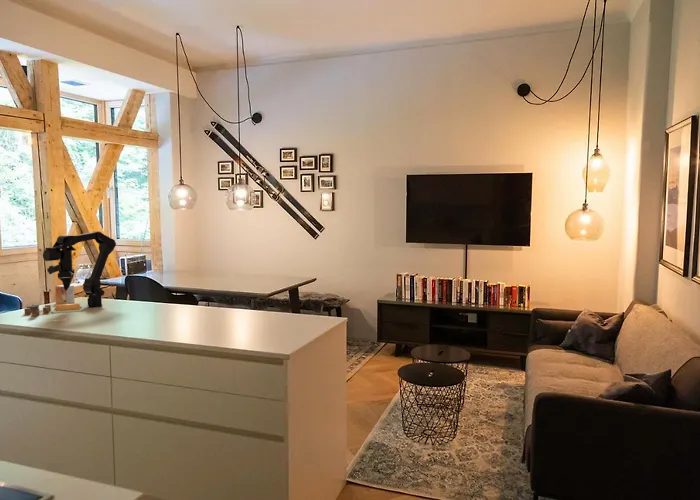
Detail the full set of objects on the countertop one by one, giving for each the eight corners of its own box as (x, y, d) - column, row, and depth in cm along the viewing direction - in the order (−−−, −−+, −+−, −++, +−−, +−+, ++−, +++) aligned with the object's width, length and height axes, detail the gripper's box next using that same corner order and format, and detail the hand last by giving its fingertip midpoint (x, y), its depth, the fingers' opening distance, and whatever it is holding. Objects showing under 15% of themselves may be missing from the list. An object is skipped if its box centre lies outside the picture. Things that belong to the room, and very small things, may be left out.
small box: (55, 304, 284) (54, 286, 283) (63, 302, 289) (63, 284, 288) (66, 305, 282) (66, 286, 281) (75, 303, 287) (74, 285, 286)
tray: (83, 308, 272) (83, 306, 271) (82, 312, 262) (82, 309, 262) (53, 310, 266) (53, 308, 266) (51, 314, 257) (51, 311, 257)
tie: (38, 307, 252) (38, 304, 252) (36, 309, 246) (36, 306, 246) (32, 307, 251) (31, 304, 251) (29, 310, 245) (29, 307, 245)
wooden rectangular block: (80, 309, 268) (79, 302, 268) (79, 310, 265) (79, 303, 264) (56, 311, 263) (56, 304, 263) (55, 312, 260) (55, 305, 260)
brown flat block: (53, 310, 266) (52, 303, 266) (49, 315, 253) (48, 308, 253) (26, 312, 262) (26, 304, 261) (21, 317, 248) (20, 309, 248)
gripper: (50, 258, 267) (51, 287, 268) (45, 261, 250) (46, 292, 251) (74, 257, 272) (75, 286, 273) (70, 260, 255) (72, 291, 256)
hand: (67, 289), depth 263 cm, fingers open, 9 cm apart
